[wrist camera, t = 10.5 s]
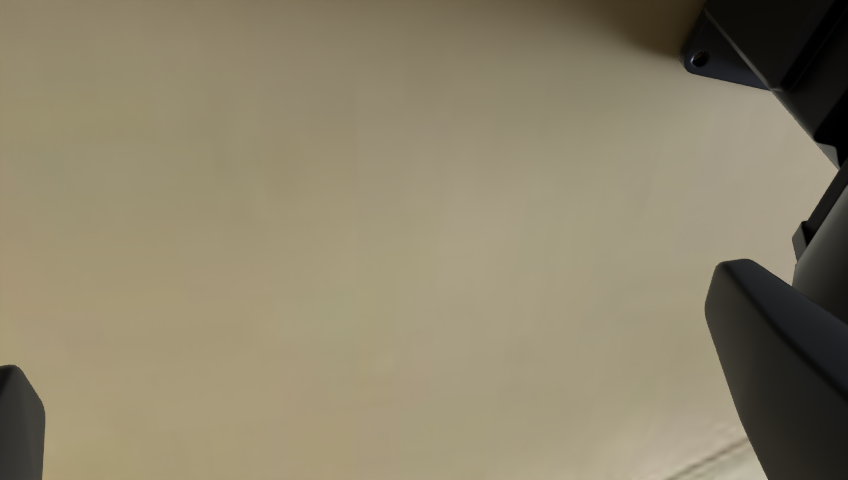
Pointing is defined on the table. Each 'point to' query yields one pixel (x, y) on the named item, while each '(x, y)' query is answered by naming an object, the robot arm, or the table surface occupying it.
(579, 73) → the table surface
